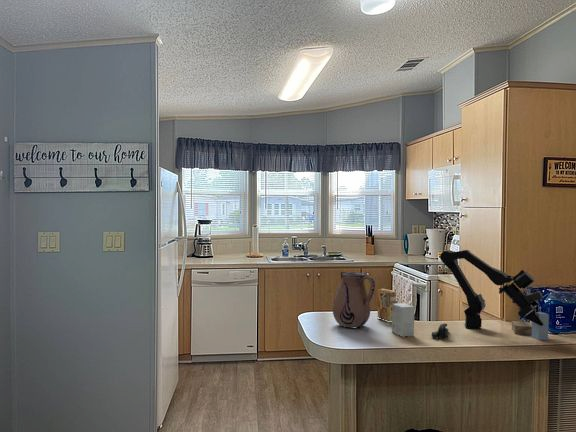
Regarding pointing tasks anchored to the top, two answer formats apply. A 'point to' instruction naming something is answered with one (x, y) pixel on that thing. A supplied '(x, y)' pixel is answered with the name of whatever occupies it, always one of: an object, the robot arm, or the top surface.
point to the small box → (403, 319)
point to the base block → (522, 328)
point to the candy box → (386, 303)
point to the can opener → (441, 332)
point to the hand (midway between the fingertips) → (543, 323)
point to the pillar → (541, 327)
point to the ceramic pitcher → (352, 300)
